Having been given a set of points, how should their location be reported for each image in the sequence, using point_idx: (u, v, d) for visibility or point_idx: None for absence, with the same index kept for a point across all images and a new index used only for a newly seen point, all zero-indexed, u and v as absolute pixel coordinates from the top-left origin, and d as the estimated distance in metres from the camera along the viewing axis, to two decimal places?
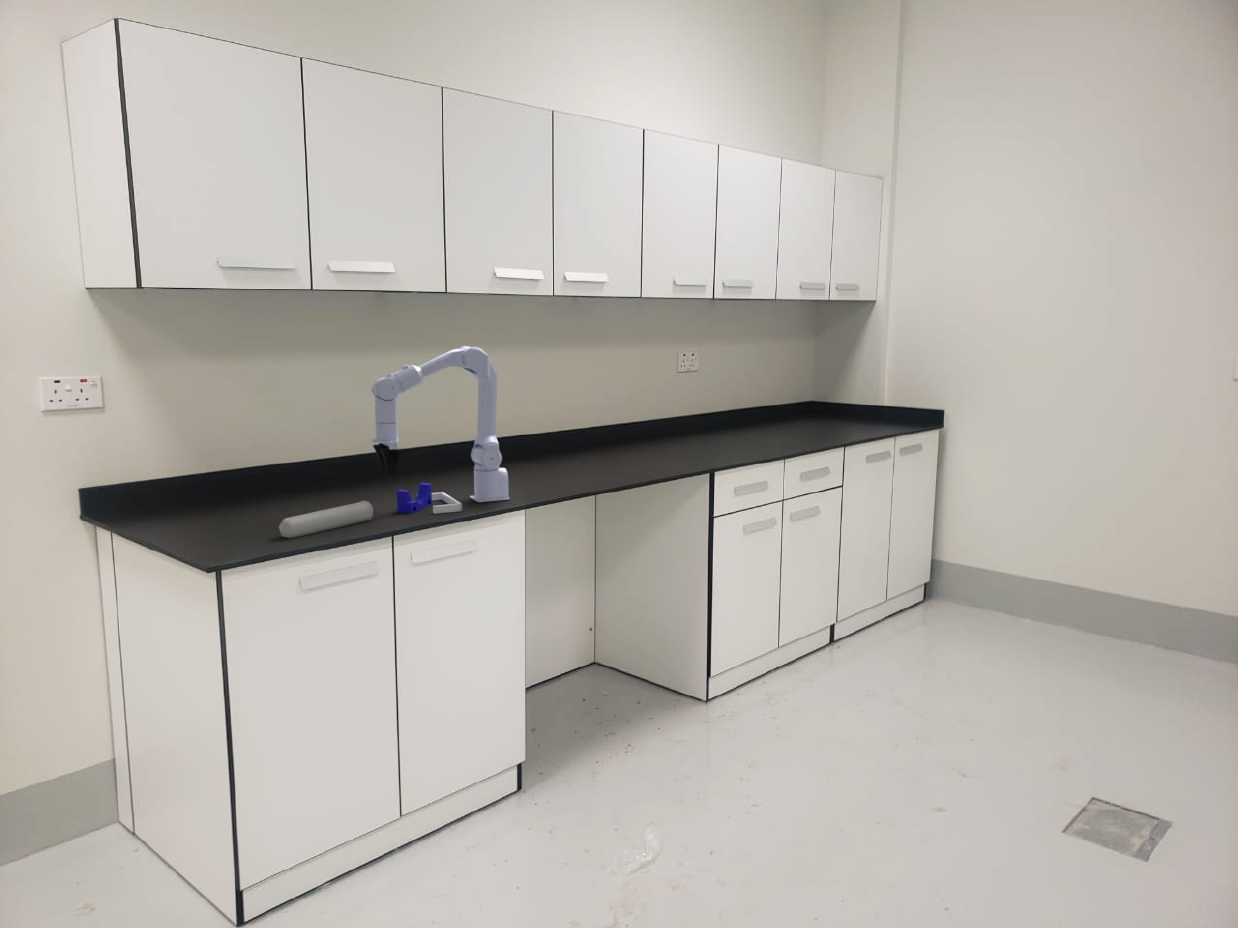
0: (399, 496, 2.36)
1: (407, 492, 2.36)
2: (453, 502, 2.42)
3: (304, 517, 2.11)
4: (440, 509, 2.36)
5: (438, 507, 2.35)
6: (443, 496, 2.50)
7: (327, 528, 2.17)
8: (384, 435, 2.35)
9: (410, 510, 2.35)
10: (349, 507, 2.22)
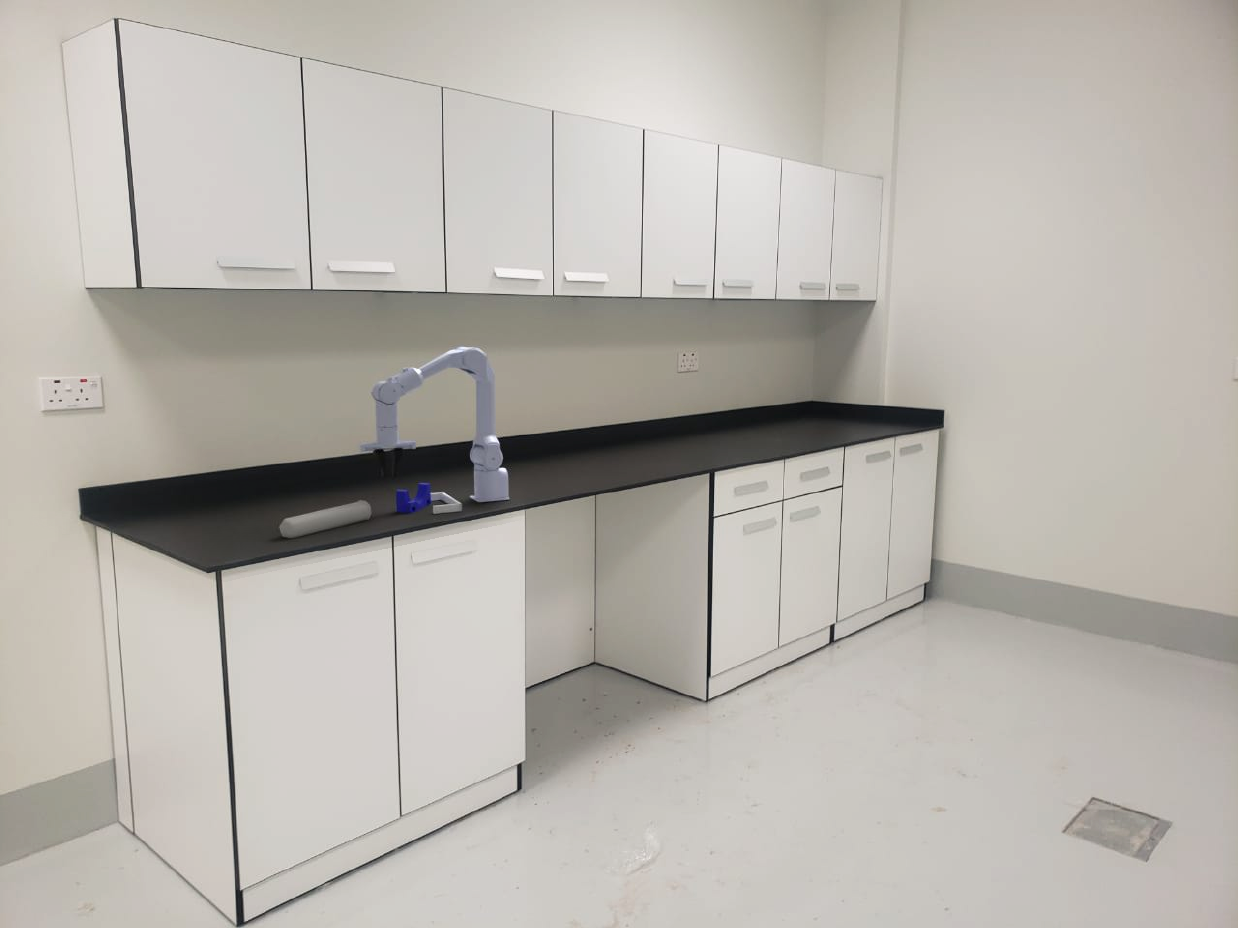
0: (398, 496, 2.36)
1: (406, 492, 2.36)
2: (453, 502, 2.42)
3: (304, 517, 2.11)
4: (440, 509, 2.36)
5: (438, 507, 2.35)
6: (443, 496, 2.50)
7: (327, 528, 2.17)
8: None
9: (409, 510, 2.36)
10: (348, 507, 2.22)
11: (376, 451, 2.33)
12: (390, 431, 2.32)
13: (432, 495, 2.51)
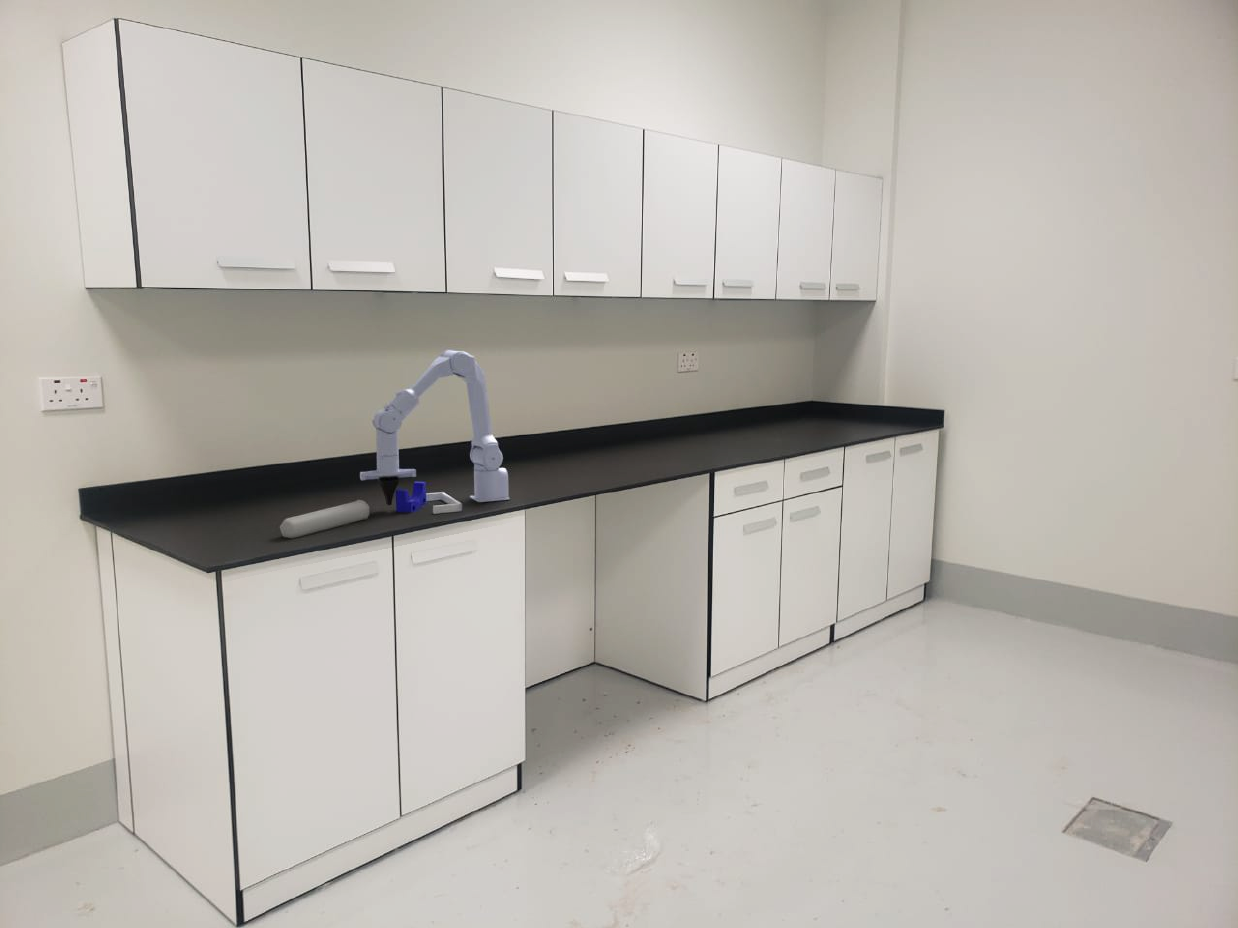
0: (398, 495, 2.36)
1: (406, 491, 2.36)
2: (453, 502, 2.42)
3: (305, 517, 2.12)
4: (440, 509, 2.36)
5: (438, 507, 2.35)
6: (443, 496, 2.50)
7: (326, 528, 2.17)
8: None
9: (410, 509, 2.36)
10: (346, 506, 2.23)
11: None
12: (390, 460, 2.33)
13: (432, 495, 2.51)
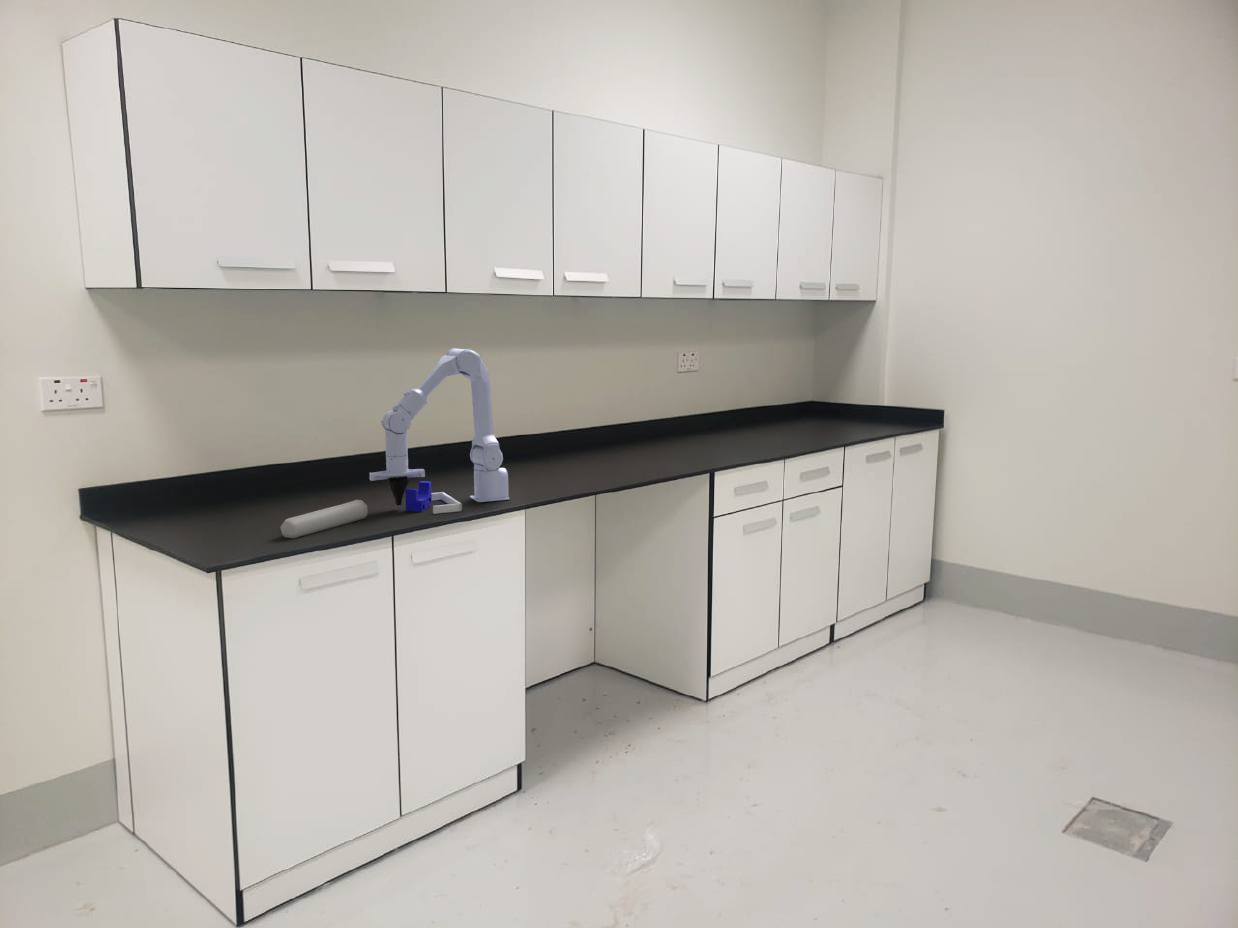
0: (408, 495, 2.37)
1: (416, 490, 2.37)
2: (453, 502, 2.42)
3: (305, 517, 2.12)
4: (440, 509, 2.36)
5: (438, 507, 2.35)
6: (443, 496, 2.50)
7: (326, 527, 2.17)
8: None
9: (420, 508, 2.37)
10: (345, 506, 2.23)
11: None
12: (400, 460, 2.35)
13: (432, 495, 2.51)
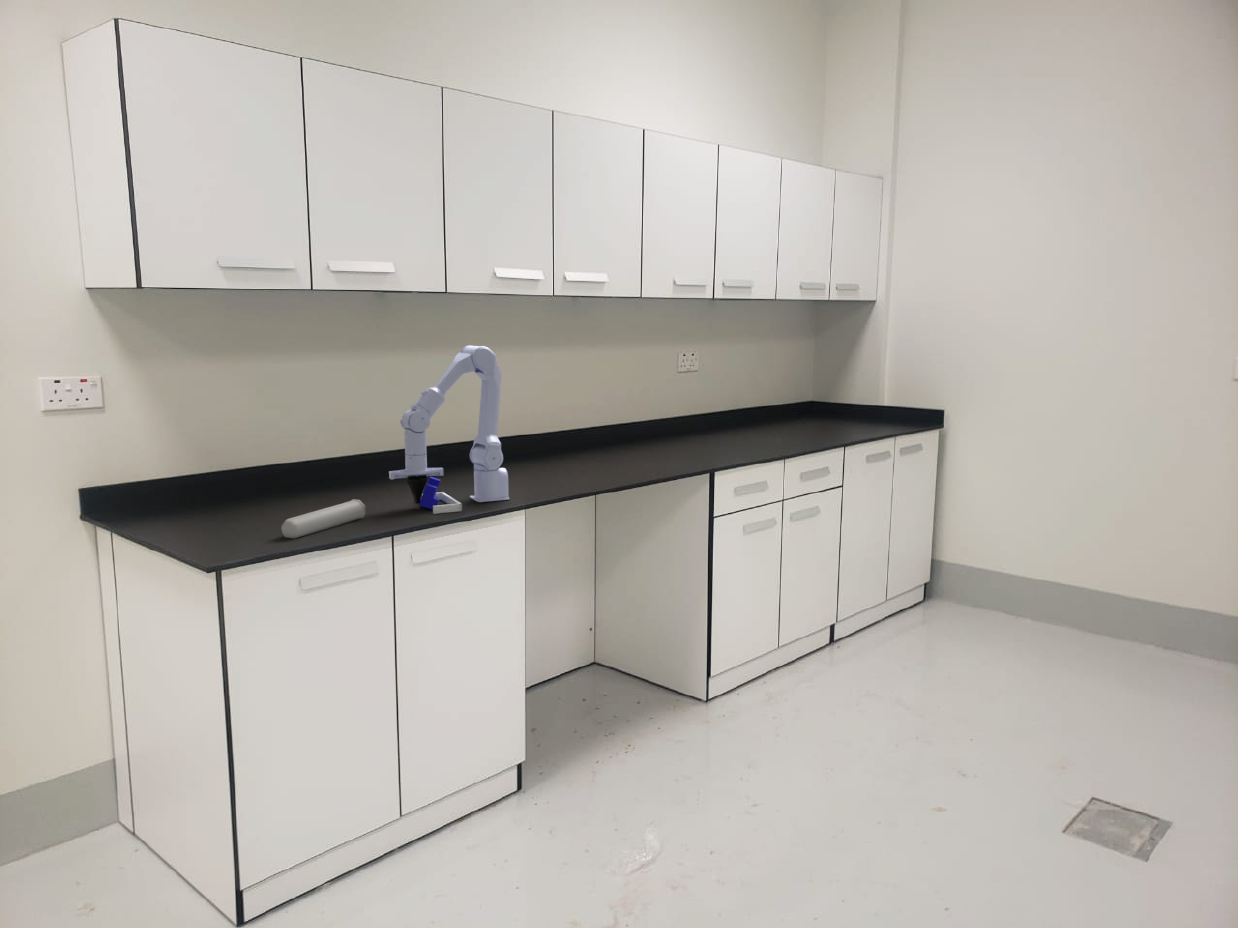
0: (427, 490, 2.38)
1: (436, 488, 2.39)
2: (453, 502, 2.42)
3: (305, 517, 2.12)
4: (440, 509, 2.36)
5: (438, 507, 2.35)
6: (443, 496, 2.50)
7: (326, 527, 2.17)
8: None
9: None
10: (344, 506, 2.23)
11: None
12: (419, 459, 2.37)
13: None
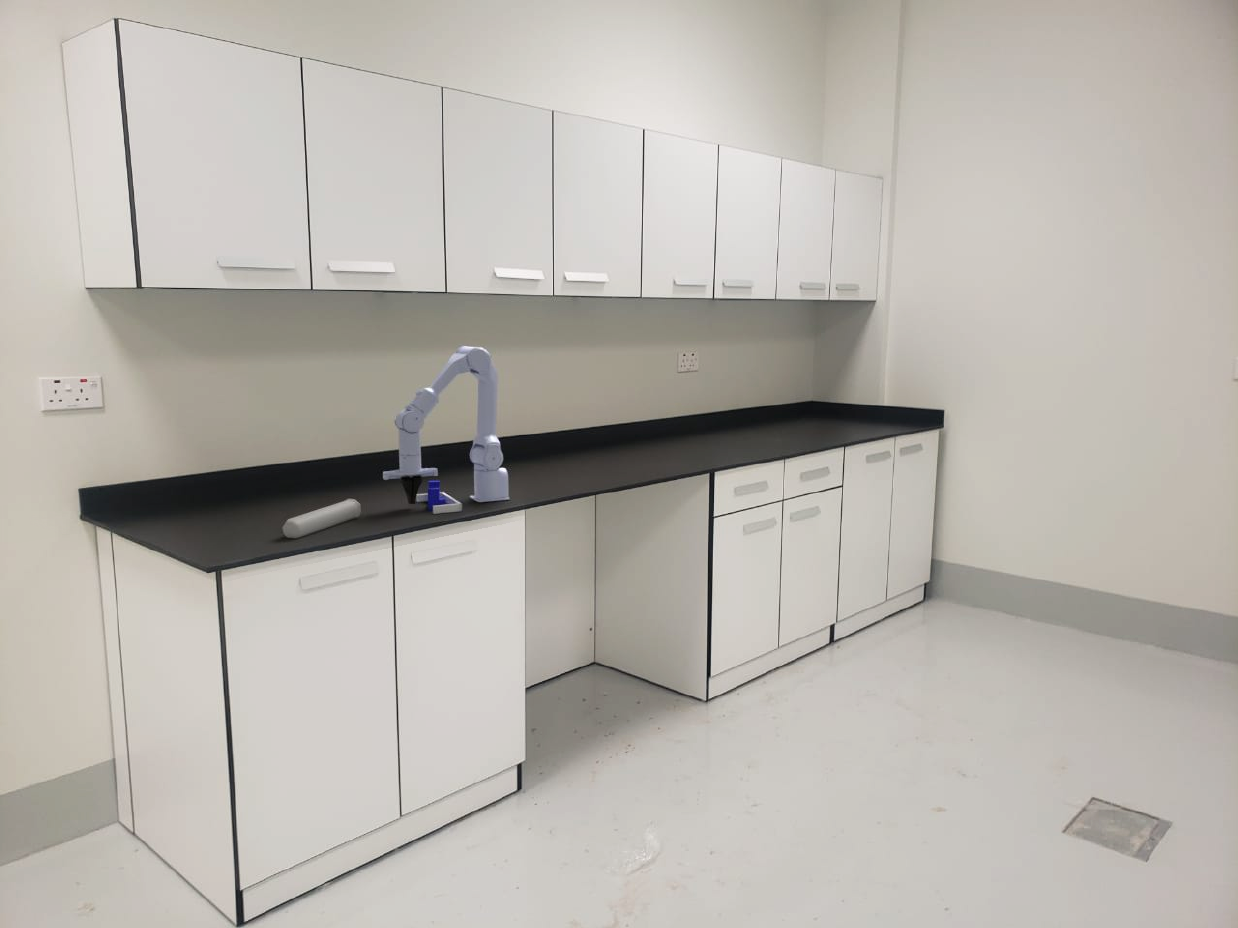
0: (430, 494, 2.39)
1: (438, 489, 2.40)
2: (453, 502, 2.42)
3: (306, 517, 2.12)
4: (440, 509, 2.36)
5: (438, 507, 2.35)
6: (443, 496, 2.50)
7: (325, 527, 2.18)
8: None
9: None
10: (341, 505, 2.24)
11: None
12: (413, 459, 2.36)
13: None
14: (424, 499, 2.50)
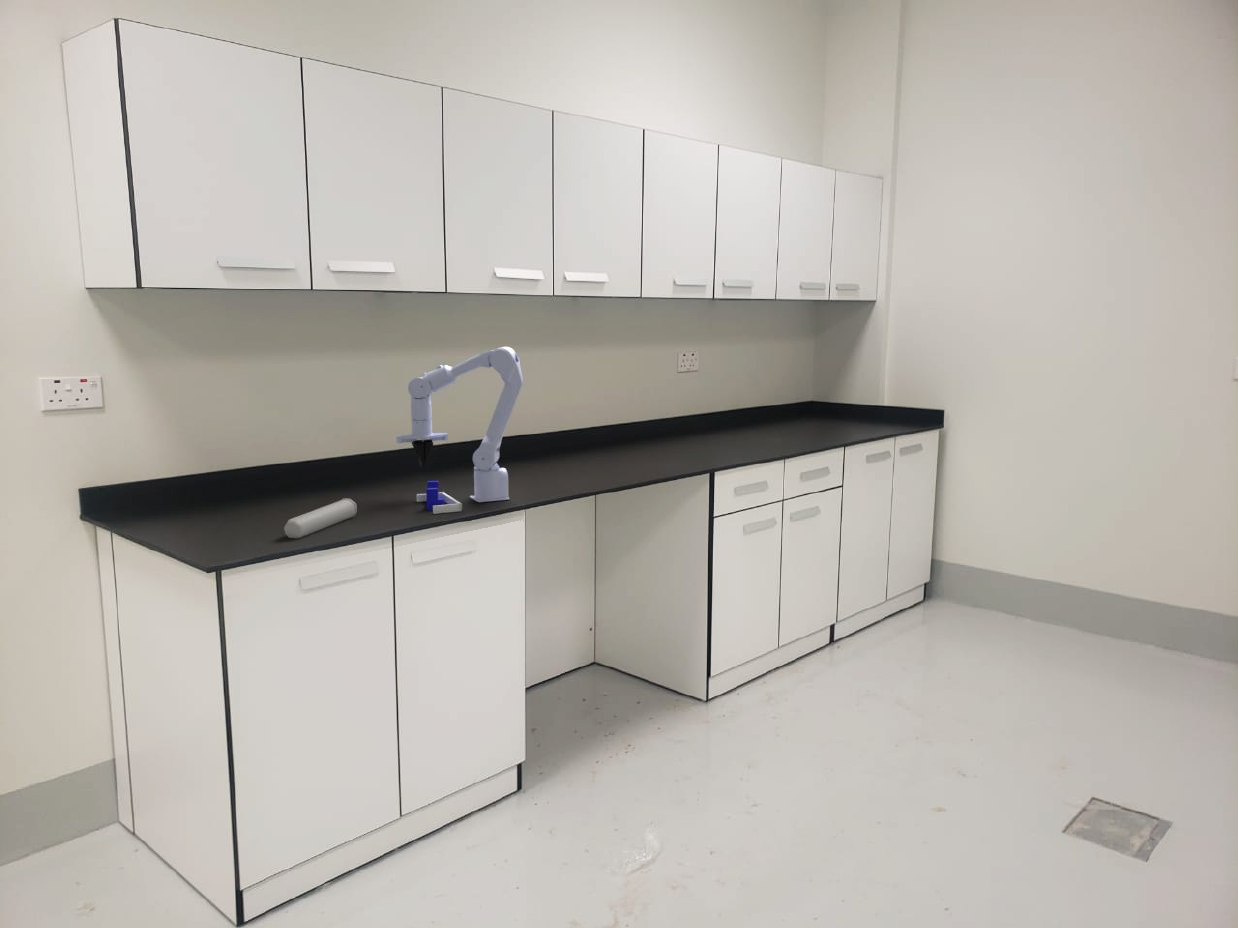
0: (429, 494, 2.39)
1: (437, 489, 2.40)
2: (453, 502, 2.42)
3: (307, 517, 2.12)
4: (440, 509, 2.36)
5: (438, 507, 2.35)
6: (443, 496, 2.50)
7: (324, 527, 2.18)
8: None
9: None
10: (338, 505, 2.24)
11: None
12: (424, 424, 2.48)
13: None
14: (424, 499, 2.50)
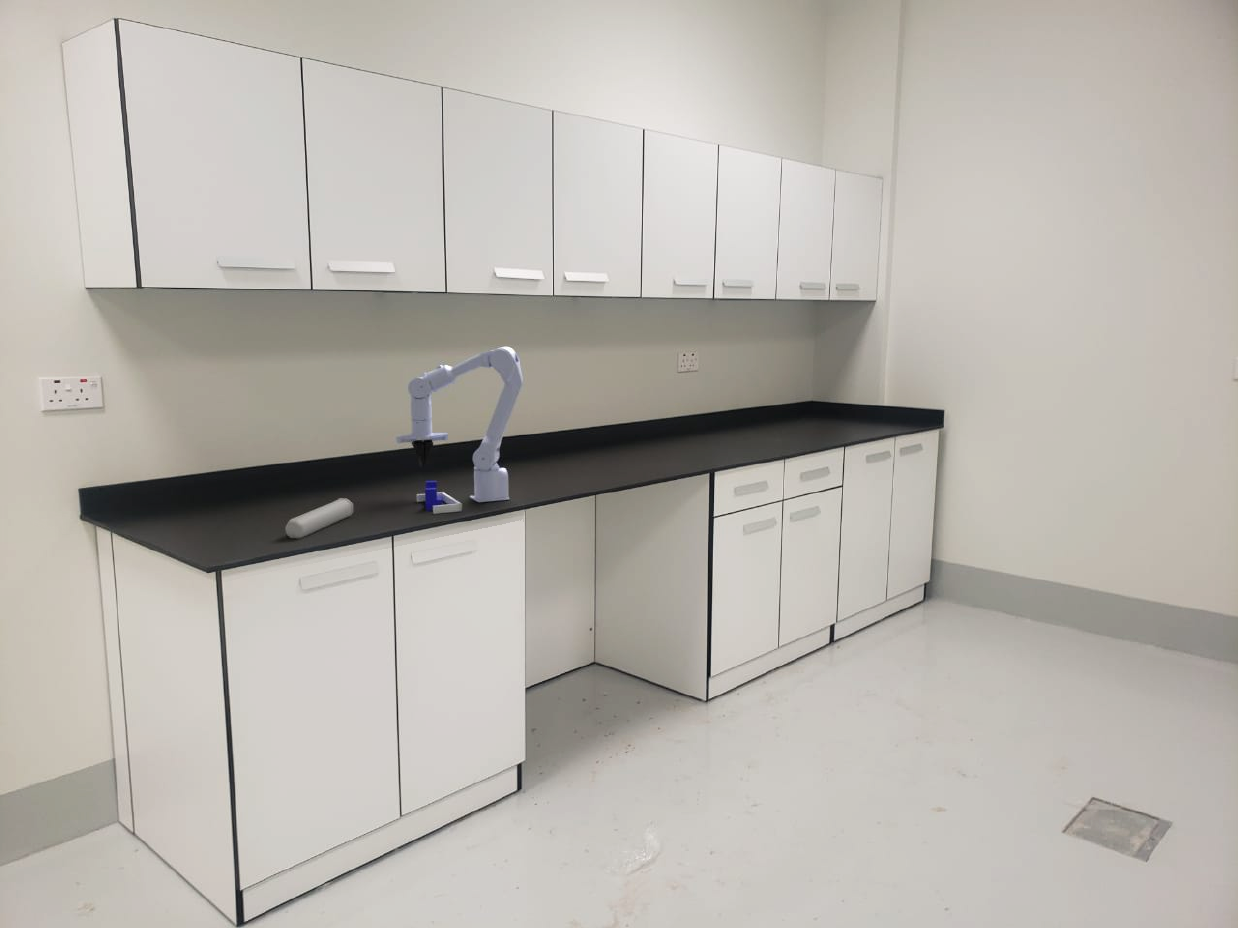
0: (428, 494, 2.39)
1: (436, 489, 2.39)
2: (453, 502, 2.42)
3: (307, 517, 2.12)
4: (440, 509, 2.36)
5: (438, 507, 2.35)
6: (443, 496, 2.50)
7: (323, 526, 2.18)
8: None
9: None
10: (335, 505, 2.25)
11: None
12: (424, 424, 2.48)
13: None
14: (424, 499, 2.50)
